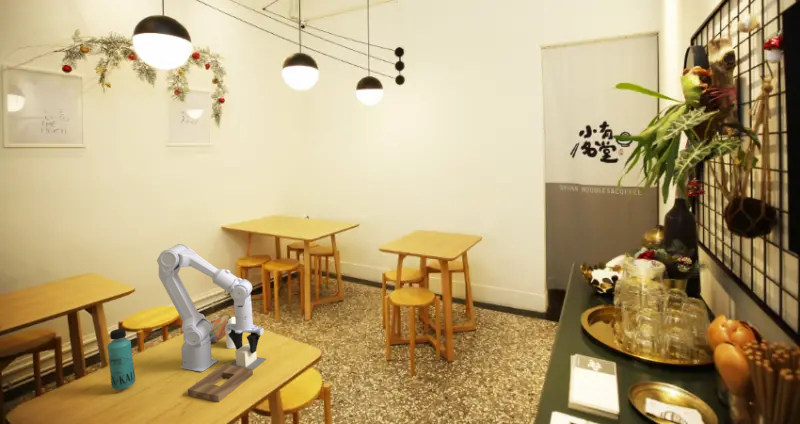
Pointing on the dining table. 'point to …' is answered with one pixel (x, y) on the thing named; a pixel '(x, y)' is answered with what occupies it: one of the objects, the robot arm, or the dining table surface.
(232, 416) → the dining table surface
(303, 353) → the dining table surface
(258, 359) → the mat
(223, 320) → the tin
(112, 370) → the beverage bottle
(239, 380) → the block
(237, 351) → the plug
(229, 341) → the roll
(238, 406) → the dining table surface
